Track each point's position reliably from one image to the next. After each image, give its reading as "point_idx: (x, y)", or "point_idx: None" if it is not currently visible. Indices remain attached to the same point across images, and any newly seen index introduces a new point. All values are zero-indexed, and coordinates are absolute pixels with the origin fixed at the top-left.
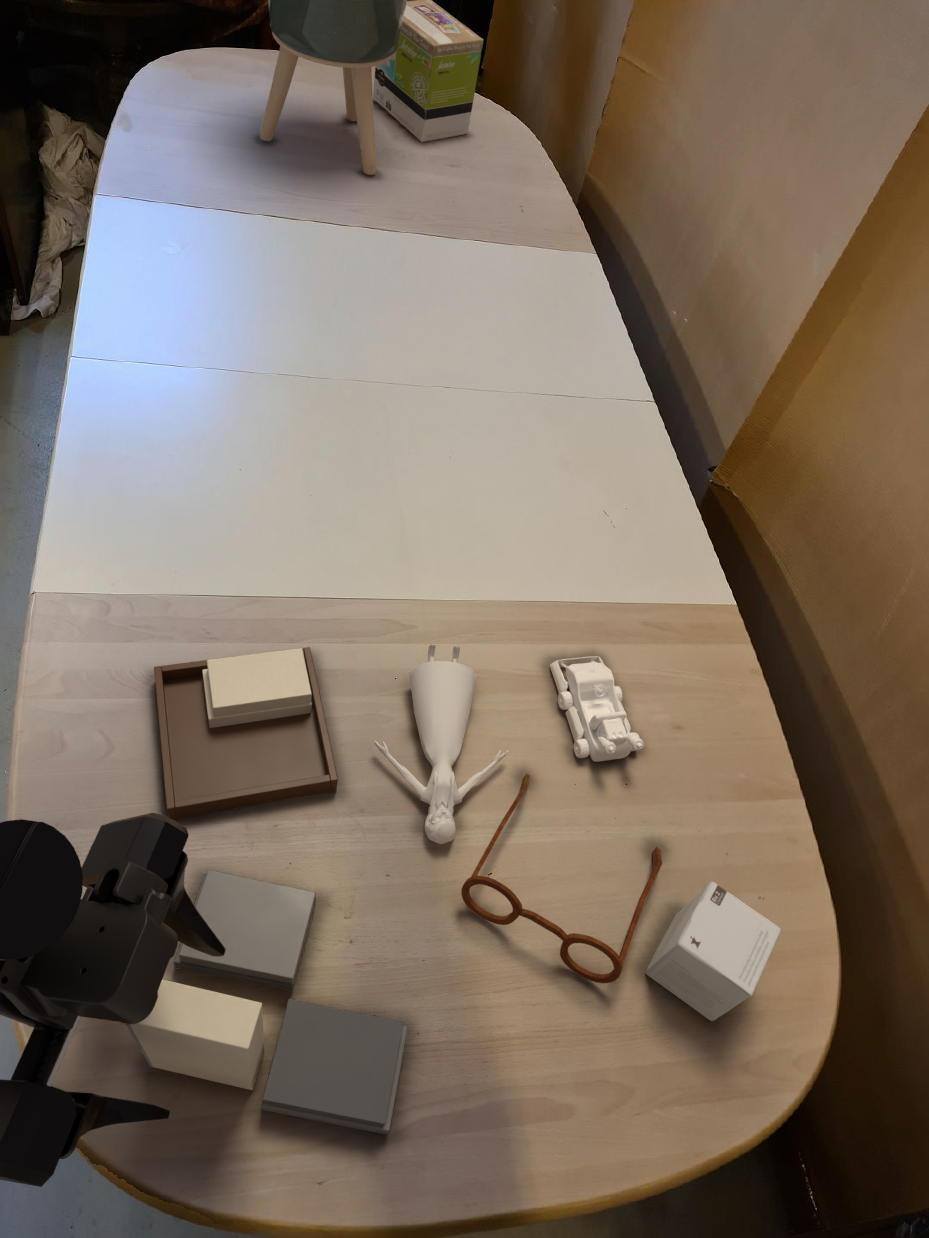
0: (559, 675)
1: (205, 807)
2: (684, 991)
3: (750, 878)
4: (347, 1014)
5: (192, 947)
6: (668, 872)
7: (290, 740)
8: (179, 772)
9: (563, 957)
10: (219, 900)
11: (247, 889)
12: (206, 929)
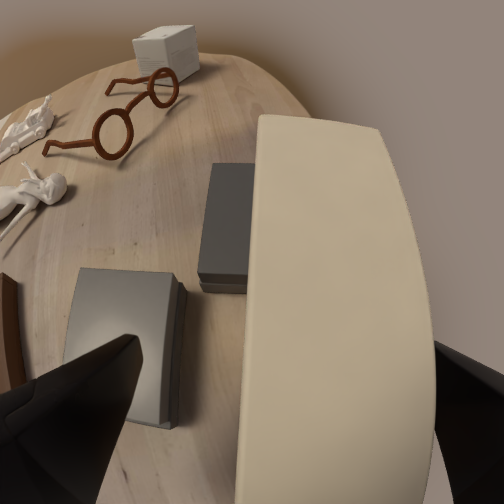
0: (2, 154)
1: None
2: (185, 67)
3: (131, 70)
4: (209, 208)
5: (129, 401)
6: (119, 89)
7: None
8: None
9: (161, 105)
10: None
11: (75, 347)
12: (75, 365)
